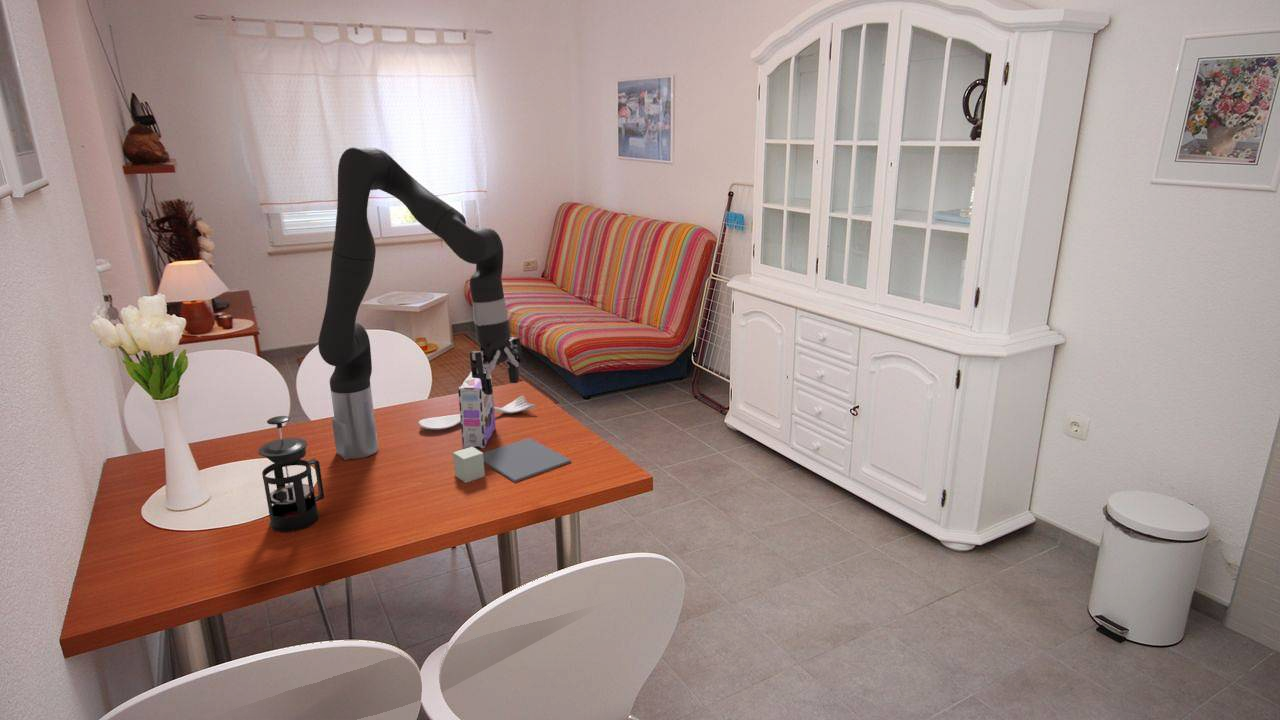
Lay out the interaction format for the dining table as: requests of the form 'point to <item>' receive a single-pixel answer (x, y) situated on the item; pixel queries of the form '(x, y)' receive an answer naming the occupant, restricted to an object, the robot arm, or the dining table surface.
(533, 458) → the placemat
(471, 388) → the candy box
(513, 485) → the dining table surface
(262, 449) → the french press
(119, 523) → the dining table surface
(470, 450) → the sage block
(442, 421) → the spoon
